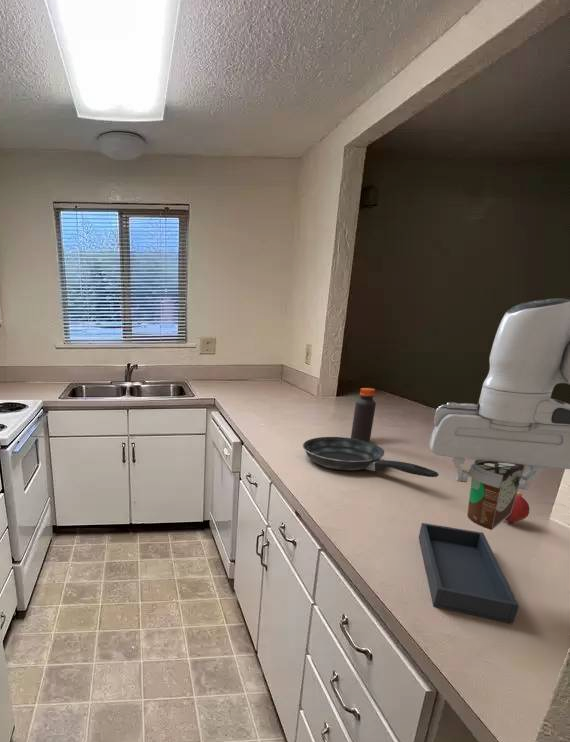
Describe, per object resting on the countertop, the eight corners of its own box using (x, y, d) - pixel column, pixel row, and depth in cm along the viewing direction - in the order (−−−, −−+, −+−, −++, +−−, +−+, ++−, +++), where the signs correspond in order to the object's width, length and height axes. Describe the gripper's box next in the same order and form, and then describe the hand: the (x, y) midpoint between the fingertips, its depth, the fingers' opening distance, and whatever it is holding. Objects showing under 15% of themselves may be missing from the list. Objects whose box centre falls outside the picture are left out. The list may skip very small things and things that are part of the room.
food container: (474, 501, 83) (485, 451, 80) (513, 511, 78) (527, 459, 75) (447, 520, 76) (458, 466, 73) (488, 532, 71) (501, 476, 68)
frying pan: (285, 456, 150) (287, 438, 147) (337, 445, 160) (340, 427, 158) (400, 506, 113) (405, 483, 111) (458, 487, 124) (463, 465, 121)
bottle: (354, 444, 162) (362, 391, 155) (347, 438, 168) (354, 387, 161) (372, 444, 161) (381, 390, 154) (365, 438, 168) (373, 387, 161)
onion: (499, 526, 103) (508, 495, 100) (491, 515, 108) (499, 486, 105) (529, 529, 101) (538, 498, 98) (518, 518, 106) (527, 488, 104)
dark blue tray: (479, 547, 94) (483, 532, 93) (513, 624, 72) (519, 605, 71) (418, 537, 99) (421, 522, 97) (433, 606, 77) (437, 588, 75)
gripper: (439, 405, 71) (423, 482, 76) (601, 416, 63) (571, 501, 68) (434, 397, 77) (419, 470, 81) (582, 406, 69) (556, 486, 74)
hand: (490, 484), depth 75 cm, fingers closed on food container, 7 cm apart
